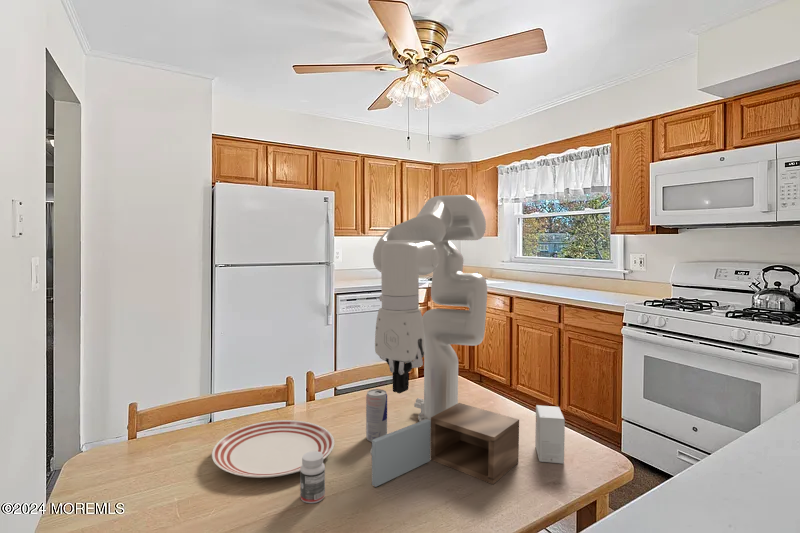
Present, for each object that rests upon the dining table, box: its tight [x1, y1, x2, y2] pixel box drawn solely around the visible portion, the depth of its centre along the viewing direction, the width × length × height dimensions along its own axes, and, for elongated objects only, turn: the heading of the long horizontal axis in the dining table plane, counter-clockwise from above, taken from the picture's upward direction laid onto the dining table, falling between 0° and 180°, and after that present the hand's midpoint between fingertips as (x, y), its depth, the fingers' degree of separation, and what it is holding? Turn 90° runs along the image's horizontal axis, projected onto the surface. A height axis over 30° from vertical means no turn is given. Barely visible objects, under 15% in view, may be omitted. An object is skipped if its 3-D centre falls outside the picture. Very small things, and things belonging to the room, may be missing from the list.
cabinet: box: [430, 402, 520, 485], centre depth 100 cm, size 16×12×10 cm
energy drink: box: [365, 388, 388, 443], centre depth 111 cm, size 5×5×12 cm
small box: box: [534, 404, 566, 465], centre depth 103 cm, size 8×6×10 cm
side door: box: [369, 419, 431, 488], centre depth 95 cm, size 16×3×9 cm, turn 132°
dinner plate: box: [211, 419, 335, 479], centre depth 102 cm, size 27×27×3 cm
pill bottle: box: [299, 451, 326, 504], centre depth 86 cm, size 5×5×8 cm
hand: (400, 390), depth 90 cm, fingers closed
